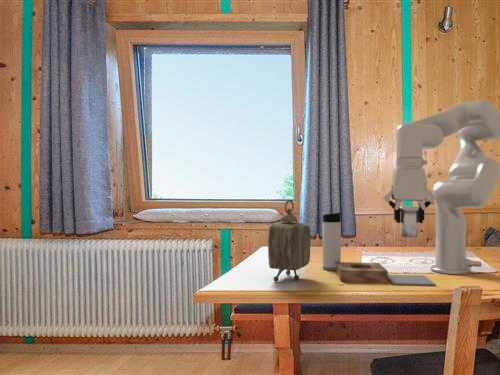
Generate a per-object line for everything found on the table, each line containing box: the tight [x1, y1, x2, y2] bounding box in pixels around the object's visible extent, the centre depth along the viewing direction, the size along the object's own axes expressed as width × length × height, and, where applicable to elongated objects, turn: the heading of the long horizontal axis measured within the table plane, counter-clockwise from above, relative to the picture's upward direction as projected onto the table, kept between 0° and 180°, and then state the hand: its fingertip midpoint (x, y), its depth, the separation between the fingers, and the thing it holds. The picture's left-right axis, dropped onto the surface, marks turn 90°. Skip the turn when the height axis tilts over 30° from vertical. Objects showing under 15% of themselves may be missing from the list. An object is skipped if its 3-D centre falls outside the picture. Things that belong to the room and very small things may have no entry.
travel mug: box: [322, 211, 343, 272], centre depth 154 cm, size 6×7×20 cm
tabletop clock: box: [267, 199, 311, 283], centre depth 137 cm, size 14×9×25 cm, turn 155°
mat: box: [388, 274, 437, 287], centre depth 135 cm, size 12×12×1 cm
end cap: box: [399, 206, 420, 238], centre depth 135 cm, size 6×6×9 cm
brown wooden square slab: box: [336, 261, 389, 284], centre depth 140 cm, size 14×14×4 cm
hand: (409, 222), depth 135 cm, fingers closed on end cap, 6 cm apart
